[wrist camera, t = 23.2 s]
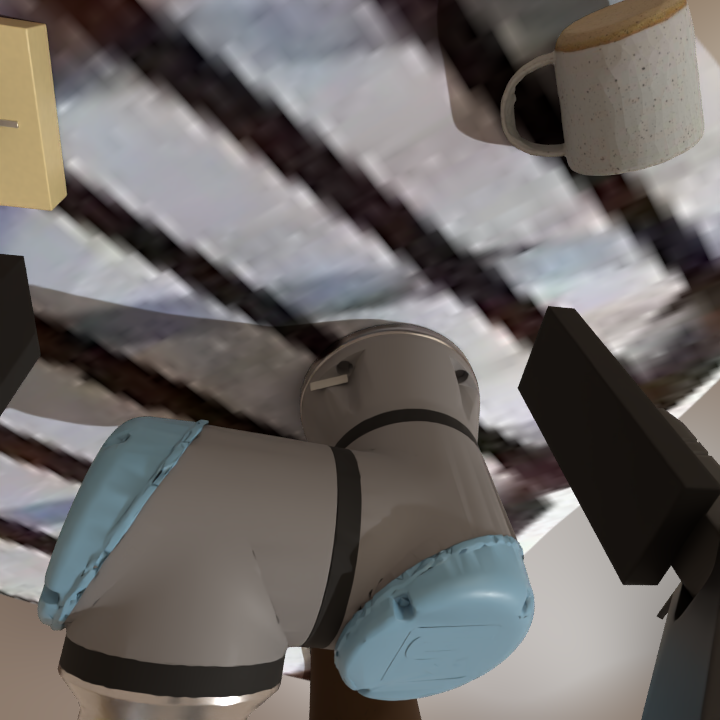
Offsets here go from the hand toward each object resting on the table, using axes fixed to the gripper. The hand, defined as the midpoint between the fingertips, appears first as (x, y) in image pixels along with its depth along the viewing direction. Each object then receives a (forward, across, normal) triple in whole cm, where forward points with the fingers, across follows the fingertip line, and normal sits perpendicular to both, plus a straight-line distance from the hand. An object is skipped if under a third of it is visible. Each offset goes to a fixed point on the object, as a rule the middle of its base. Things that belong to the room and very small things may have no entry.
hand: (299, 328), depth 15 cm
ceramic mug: (+27, +18, +4) cm, 33 cm away
